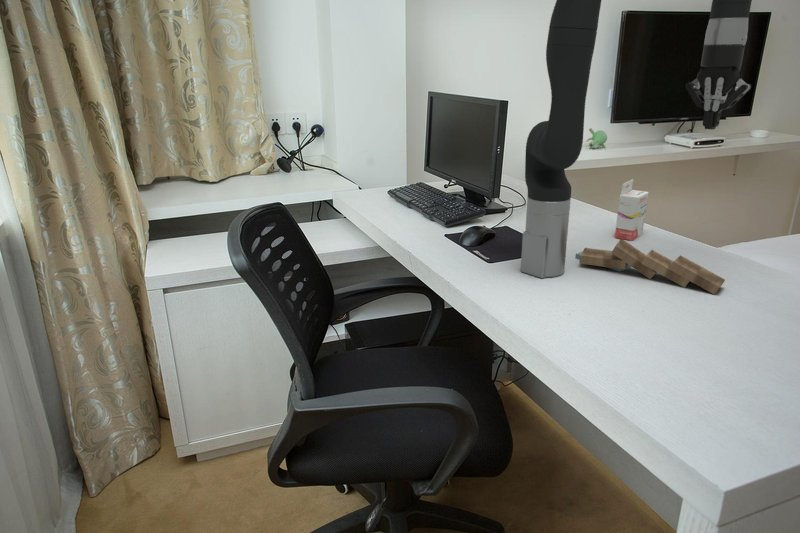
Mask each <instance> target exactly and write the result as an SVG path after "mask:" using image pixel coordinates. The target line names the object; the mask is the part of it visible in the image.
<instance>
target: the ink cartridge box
mask: <svg viewBox="0 0 800 533" xmlns="http://www.w3.org/2000/svg"><path fill="white" fill-rule="evenodd" d="M634 181H635V179H634V178H631V179H630V180H628V181H626V182H624V183H622V185H621V188H620V189H621V190H620V194H619V200H618V201H619V202H618V209H617V216H616V225H615V233H614V238H615V239H620V240H621V239H623V240H624V241H631V242H632V241H634V240H635V239H637V238H638V237H640V236H641V235H643V234H642V233H644V226H645V219H646V213H647V208H648V199H649V193H650V191H644V190H637V189H633V186H634ZM627 186H628V187H627Z"/></svg>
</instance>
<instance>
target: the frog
mask: <svg viewBox="0 0 800 533" xmlns="http://www.w3.org/2000/svg"><path fill="white" fill-rule="evenodd" d="M588 131H589V132H590V133H591V135H592V137H589V138H588V139H587V140H586V141H585V142H586V143H587V142H588V145H589V147H590V148H591V149H592V150H594V149H595V150H596V149H597V148H598V147H600V146H601V147H602V148H603V149H606V147H607V146H606V145H605V143H606V142H607V141H608V134H607V133H606V131H603V130H597V131H596V132H595V131H594V130H593V129H592V128H591V127H590V128H589V129H588ZM589 141H590V142H589Z"/></svg>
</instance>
